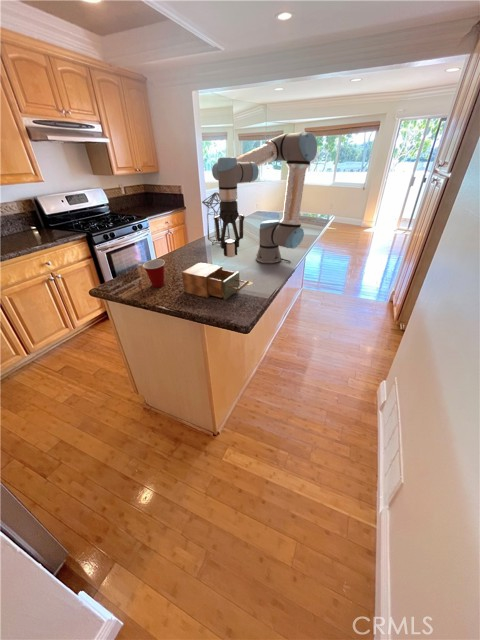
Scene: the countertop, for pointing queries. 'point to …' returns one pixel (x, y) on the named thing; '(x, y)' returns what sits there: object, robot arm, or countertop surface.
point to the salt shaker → (230, 248)
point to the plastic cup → (155, 271)
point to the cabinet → (198, 278)
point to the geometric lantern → (214, 215)
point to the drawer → (224, 283)
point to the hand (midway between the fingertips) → (230, 254)
